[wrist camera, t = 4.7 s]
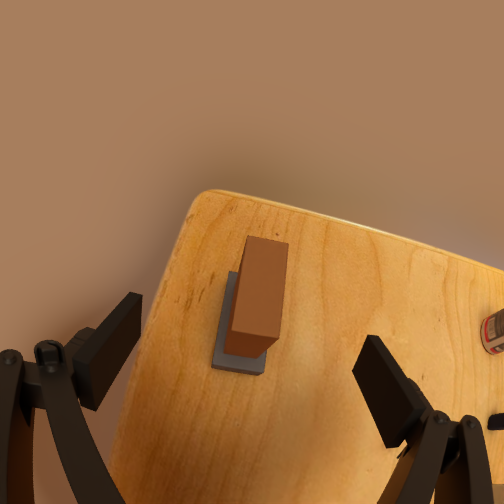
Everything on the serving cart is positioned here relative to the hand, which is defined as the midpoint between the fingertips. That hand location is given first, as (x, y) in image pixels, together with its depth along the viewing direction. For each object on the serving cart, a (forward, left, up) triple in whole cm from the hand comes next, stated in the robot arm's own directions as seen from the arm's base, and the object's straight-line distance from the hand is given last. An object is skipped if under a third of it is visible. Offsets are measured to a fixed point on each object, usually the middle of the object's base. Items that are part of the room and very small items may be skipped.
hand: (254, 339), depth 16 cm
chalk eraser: (0, +3, -9) cm, 10 cm away
